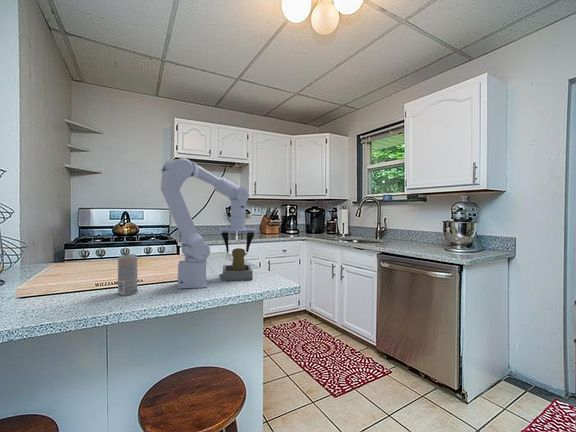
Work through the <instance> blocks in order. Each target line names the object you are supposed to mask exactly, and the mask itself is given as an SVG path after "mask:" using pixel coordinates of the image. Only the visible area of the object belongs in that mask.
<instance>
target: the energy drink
mask: <svg viewBox="0 0 576 432" xmlns="http://www.w3.org/2000/svg"><path fill="white" fill-rule="evenodd" d="M137 292H138V255H137V254H134V253H130V254H129V253H128V254H121V255H119V256H118V258H117V293H118V295H119V296H123V297H125V296H127V297H128V296H132V295H135V294H137Z"/></svg>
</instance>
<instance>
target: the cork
mask: <svg viewBox="0 0 576 432" xmlns="http://www.w3.org/2000/svg"><path fill="white" fill-rule="evenodd" d="M231 256H232V257H233V258H232V264H231V265H232V269H231V271H245V265H246V264H245V256H246V249H244V248H241V247H240V248H238V247H237V248H234V249H232V251H231Z"/></svg>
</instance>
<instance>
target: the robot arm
mask: <svg viewBox="0 0 576 432" xmlns="http://www.w3.org/2000/svg"><path fill="white" fill-rule="evenodd" d="M160 173H161V181H160V183H161V184H160V191H161V193H162V195H163V197H164V200H165V202H166V204H167V205H166V206H167V207H168V209H169V211H170V213H171V216H172V218H173V220H174V223H175V226H176V227H177V229H178V232H179V233H180V237H181V238H180V243H181V252H182V254H183V255H184V260H183V259H182V260H179V261H178V265H177V289H195V288H196V289H199V288H207V287H208V279H207V259H208V258H209V257H210V253H211V247H210V245H209V244H208V243H207V242H206V241H205V240H204V238H203V237H202V236H201V235H200V233H198V231H197V228H196V226H195V223H194V221H193V219H192V216H191V214H190V211H189V210H188V206H187V205H186V202H185V200H184V198H183V195H182V193H181V188H182V186H183V184H184V182H185V181H187V179H189V178H190V177H191V178H196V179H198V180H201V181H203V182H205V183H207V184H208V185H211V186H213V188H214V191H216V192H217V193H219V194H221V195H223V196H225V197H227V198H228V199H229V201H230V227H223V228H222V227H221V228H218V234H220V235H221V237H222V239H223V242H224V244H225V248H226V253H229V251H230V249H229V235H231V234H232V235H233V234H235V235H236V234H241V235H242V234H246V248H245V253H249V249H250V246H251V243H252V241H253V239H254V237H255V234H257V228H252V227H251V228H249V227H248V228H247V227H246V216H247V215H246V214H247V213H246V207H247V206H246V205H247V203H248V199H249V198H250V194H249V191H248V189H247V188H246V187H244V186H239V184H238V183H237V182H236V183H235V182H232V181H231V180H229V177H227V176H221V177H218V176H216V175H214V174H213V173H211V172H210V171H208V170H206V169H205V168H203V167H201V166H200V165H199V164H197V163H196V162H195V161H191V160H190V159H188V158H185V157H180V158H178V159H174V160H173V159H171V160H168V161H166V162H165V163H164V165H163V167H161V169H160Z"/></svg>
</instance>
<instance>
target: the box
mask: <svg viewBox="0 0 576 432" xmlns="http://www.w3.org/2000/svg"><path fill="white" fill-rule="evenodd" d="M231 269H232V264H223V265H222V282H237V281H238V282H239V281H240V282H243V281H253V273H254V272H253V269H252V266H251V265H250V264H245V271H231Z"/></svg>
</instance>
